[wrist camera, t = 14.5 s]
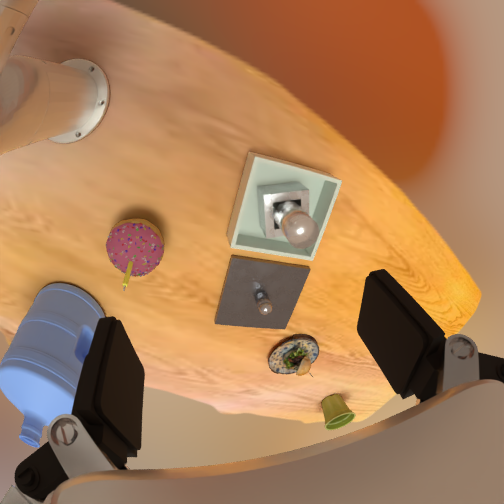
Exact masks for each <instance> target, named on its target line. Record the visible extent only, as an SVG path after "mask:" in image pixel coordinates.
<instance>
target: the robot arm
mask: <svg viewBox="0 0 504 504" xmlns="http://www.w3.org/2000/svg"><path fill="white" fill-rule="evenodd" d="M38 1H39V0H0V155H2V154H4V153H6V152H9V151H12V150H15V149H17V148H20V147H23V146H26V145H29V144H32V143H35V142H38V141H42V140H45V139H48V140H51V141H53V142H55V143H61V144H65V143H72V142H76V141H78V140H81V139H82V138H84V137H86V136H88V135H89V134H90V133H91V132H92V131H94V129H95V128H96V127H97V126H98V125H99V123H100V122H101V120H102V119H103V117H104V115H105V112H106V110H107V107H108V103H109V96H110V90H109V83H108V80H107V77H106V75H105V73H104V71H103V70H102V69H101V68H100V67H99V66H98V65H96V64H95V63H93V62H91V61H89V60H85V59H71V60H67V61H64V62H62V63H60V64H58V63H54V62H50V61H46V60H42V59H37V58H32V57H27V56H21V55H15V56H9V55H10V53H11V51H12V49H13V47H14V45H15V43H16V41H17V39H18V37H19V35H20V33H21V31H22V29H23V27H24V25H25V24H26V22H27V20H28V18H29V16H30V15H31V13H32V11H33V9H34V8H35V6H36V4H37V2H38ZM93 68H95V69H94V71H92V69H93ZM103 101H104V104H102V102H103ZM79 133H81V136H80V135H79ZM357 331H358V334H359V336H360V337H361V339H362V340H363V342H364V344H365V345H366V347H367V348H368V350H369V351H370V353H371V354H372V356H373V358H374V359H375V361H376V362H377V364H378V365H379V367H380V369H381V370H382V372H383V373H384V375H385V377H386V378H387V380H388V381H389V383H390V385H391V386H392V388H393V390H394V391H395V393H397V394H400V395H401V397H402V398H403V399H405V398H407V397H409V396H411V395H413V394H415V396H416V397H417V400H416V406H414V407H412V408H410V409H407V410H405V411H403V412H401V413H399V414H396V415H394V416H392V417H389V418H387V419H385V420H383V421H380V422H378V423H375V424H373V425H371V426H368V427H365V428H363V429H360V430H357V431H354V432H352V433H349V434H346V435H343V436H340V437H337V438H334V439H331V440H328V441H325V442H322V443H318V444H315V445H311V446H308V447H304V448H300V449H297V450H293V451H289V452H284V453H280V454H276V455H271V456H266V457H261V458H257V459H251V460H245V461H239V462H233V463H226V464H218V465H209V466H200V467H188V468H173V469H147V470H145V469H144V470H130V468H129V467H128V466H127V465H126V463H127V457H137V450H140V448H141V432H142V407H143V391H144V377H145V373H144V368H143V366H142V364H141V362H140V360H139V358H138V356H137V354H136V352H135V350H134V348H133V346H132V344H131V342H130V340H129V337H128V335H127V333H126V331H125V329H124V327H123V325H122V322H121V321H120V320H116V318H115V317H105V318H100V319H99V320H98V323H97V326H96V329H95V333H94V336H93V339H92V343H91V346H90V349H89V353H88V354H87V355H86V357H85V359H84V363H83V366H82V370H81V374H80V378H79V382H78V386H77V390H76V394H75V398H74V403H73V407H72V412H71V414H62V415H59V416H57V417H56V418H54V419H53V420H52V421H51V423H50V425H49V427H48V430H47V438H48V442H47V443H45V444H44V445H43V446H42V447H40V448H39V449H38V450H37V451H35V452H34V453H33V454H31V455H30V456H29V457H28V458H26V459H25V460H24V461H23V462H21V463H20V464H19V465H18V467H17V468H16V471H15V483H16V486H13V485H12V486H11V487H10V488H9V490H8V492H7V493H6V495H5V496H4V498H3V500H2V501H1V503H0V504H504V358H500V357H495V356H491V355H487V354H483V353H479V352H478V349H477V346H476V344H475V342H474V341H473V340H472V339H470V338H469V337H467V336H465V335H462V334H454V335H451V336H450V337H448V339H446V338H445V337H444V335H445V333H444V331H443V330H442V329H441V328H440V327H439V326H438V325H437V324H436V322H435V321H434V320H433V319H432V318H431V317H430V316H429V315H428V314H427V313H426V311H425V310H424V309H423V308H422V307H421V306H420V305H419V304H418V303H417V302H416V301H415V300H414V299H413V298H412V296H411V295H410V294H409V293H408V292H407V291H406V290H405V289H404V288H403V287H402V286H401V285H400V284H399V283H398V282H397V281H396V280H395V279H394V278H393V277H392V276H391V275H390V274H389V273H388V272H387V271H386V270H385V269H381V270H377V271H372V272H370V274H369V276H367V277H366V280H365V286H364V292H363V298H362V303H361V309H360V314H359V319H358V324H357Z"/></svg>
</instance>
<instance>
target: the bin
mask: <svg viewBox="0 0 504 504" xmlns="http://www.w3.org/2000/svg"><path fill="white" fill-rule="evenodd" d="M289 182H300V183H301V184H302V185H304V186H305V187H306V188H307V189H309V216H310V217H311V218H312V219H313V220H314V221H315V222H316V223H317V225H318V227H319V236H318V238H317V240H316V241H315V243H314V244H313V245H311V246H310V247H308V248H304V249H298V248H295V247H293V246H292V245H291V244H290V243H289V241H288V240H287V238H286V237H285V236H280V237H273V238H267V239H266V237H265V235H264V233H263V231H262V229H261V228H260V223H259V210H258V197H257V186H263V185H271V184H280V183H289ZM341 183H342V181H341V180H340V179H338V178H336V177H334V176H333V175H331V174H329V173H326V172H323V171H319V170H316V169H313V168H309V167H306V166H303V165H299V164H296V163H292V162H288V161H285V160H281V159H277V158H274V157H270V156H266V155H262V154H258V153H254V152H250V151H249V152H248V156H247V159H246V163H245V167H244V170H243V174H242V178H241V181H240V185H239V189H238V193H237V196H236V200H235V204H234V208H233V212H232V215H231V219H230V223H229V227H228V231H227V237H228V241H229V245H230V248H236V249H242V250H248V251H255V252H261V253H267V254H273V255H280V256H286V257H292V258H299V259H305V260H311V261H313V259H314V256H315V253H316V251H317V248H318V246H319V243H320V241H321V238H322V235H323V233H324V230H325V227H326V225H327V222H328V219H329V217H330V214H331V211H332V208H333V206H334V203H335V200H336V197H337V195H338V192H339V189H340V186H341ZM289 201H291V200H289ZM282 202H284V201H281V202H273V214H274V211H275V209H276V207H277V206H278V205H279V204H280V203H282Z"/></svg>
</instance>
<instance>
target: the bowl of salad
mask: <svg viewBox="0 0 504 504" xmlns="http://www.w3.org/2000/svg"><path fill="white" fill-rule="evenodd" d="M318 354H319V347H318V345H317V342H316V340H315V339H314V338H313V337H312V336H310V335H306V334H295V335H293V339H291V340H289V341H286V342H284V343H282V345H280V346H279V347H278V348H276V349H275V350H274V351H273V353H272V354H271V356H270V358H269V360H268V363H269V368H270V369H271V371H273V372H274V373H277V374H278V373H280V374H291V373H295V372H297V373H296V375H298V376H301V375H304V374H306V373H308V371H309V370H310V368H311V364H312V363H313V362H314V361H315V360H316V358H317V356H318ZM311 376H312V375H311ZM312 377H313V376H312Z"/></svg>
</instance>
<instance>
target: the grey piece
mask: <svg viewBox="0 0 504 504" xmlns="http://www.w3.org/2000/svg"><path fill="white" fill-rule="evenodd" d="M257 197H258V210H259V223H260V228H261V229H262V231H263V233H264V235H265V237H266V239H267V238H273V237H280V236H285V237H286V238H287V240H288V241H289V243H290V244H291V245H292V246H293V247H295V248H298V249H304V248H308V247H310V246H311V245H313V244H314V243H315V241H316V240H317V238H318V236H319V227H318V225H317V223H316V222H315V221H314V220H313V219H312V218H311V217H310V216H309V189H307V188H306V187H305V186H304V185H302V184H301V183H300V182H289V183H280V184H271V185H263V186H257ZM289 200H291V201H289ZM281 201H284V202H282V203H280V204H279V205H278V206H277V207H276V209H275V211H274V214H273V202H281Z"/></svg>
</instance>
